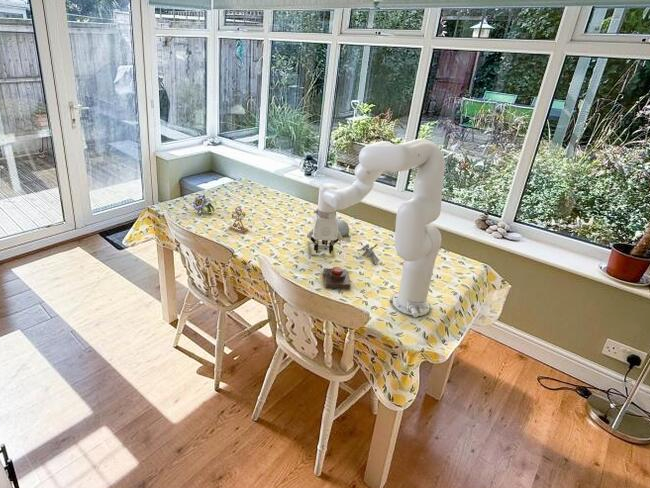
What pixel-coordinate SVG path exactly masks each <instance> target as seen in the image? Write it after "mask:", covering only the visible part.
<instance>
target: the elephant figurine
mask: <svg viewBox="0 0 650 488" xmlns="http://www.w3.org/2000/svg"><path fill="white" fill-rule="evenodd" d="M378 245H379V244H378V243H376V244H375V245H374V246H372V247H370V244H369V243H367V244H366V245H363V247H361V249H360V250H361V251H362V252H363V253H362V254H361V256H365V255H366V256H367V258H369V259H370V260H371V262H373V264H374V265H377V264H378V263H377V262H380V261H381V259H379V258H378V256H377V255H376V254H375V252H374V251H373V250H374V249H375V248H376V247H377V246H378Z"/></svg>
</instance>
